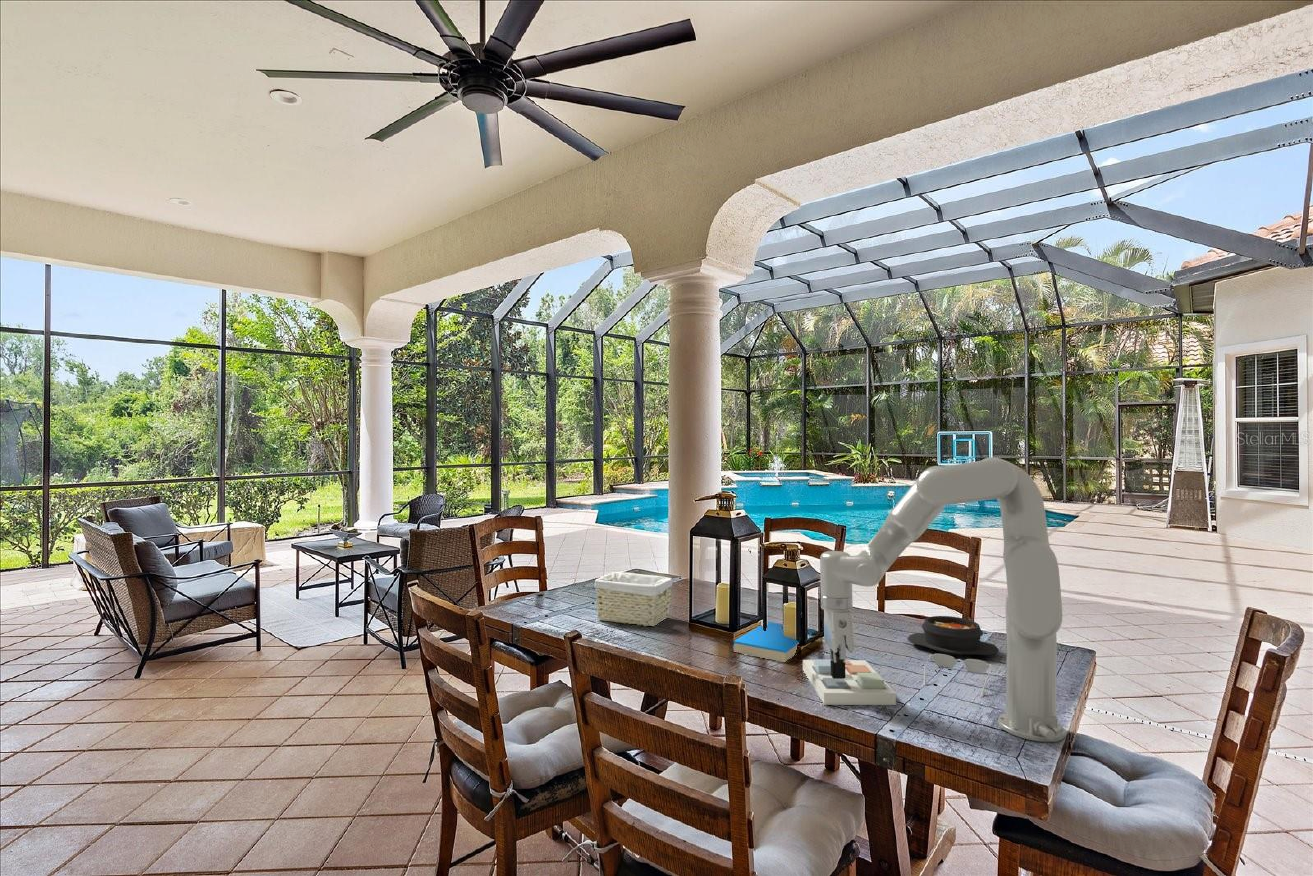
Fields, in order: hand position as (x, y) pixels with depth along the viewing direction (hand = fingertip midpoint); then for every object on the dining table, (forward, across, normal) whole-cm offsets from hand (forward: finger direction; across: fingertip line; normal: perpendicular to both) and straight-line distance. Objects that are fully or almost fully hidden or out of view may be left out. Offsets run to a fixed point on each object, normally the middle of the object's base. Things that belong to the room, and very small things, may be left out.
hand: (838, 677), depth 157 cm
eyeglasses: (+6, +12, -34) cm, 37 cm away
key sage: (+2, 0, -8) cm, 8 cm away
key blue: (+2, +10, +1) cm, 10 cm away
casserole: (+6, +37, -44) cm, 58 cm away
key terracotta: (+4, +10, -8) cm, 13 cm away
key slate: (+4, 0, +1) cm, 4 cm away
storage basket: (+3, +67, +53) cm, 86 cm away
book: (+5, +39, +9) cm, 40 cm away
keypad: (+5, +6, -4) cm, 9 cm away
